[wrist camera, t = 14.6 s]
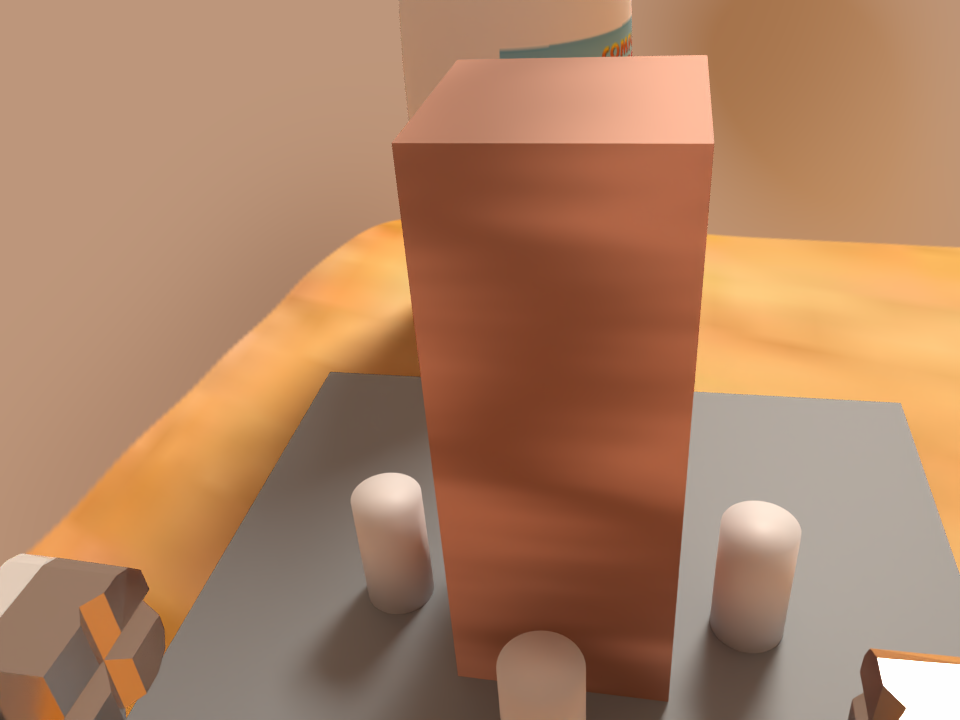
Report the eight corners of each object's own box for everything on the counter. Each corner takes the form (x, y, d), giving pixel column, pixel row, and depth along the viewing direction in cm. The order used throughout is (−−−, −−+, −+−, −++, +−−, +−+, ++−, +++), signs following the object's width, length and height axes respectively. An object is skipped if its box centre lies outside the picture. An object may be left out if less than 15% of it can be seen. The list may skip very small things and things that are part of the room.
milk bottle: (436, 368, 31) (355, -346, 20) (425, 270, 38) (359, -312, 27) (648, 344, 32) (681, -370, 21) (601, 252, 38) (607, -330, 27)
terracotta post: (671, 546, 22) (706, 54, 15) (668, 701, 18) (713, 143, 12) (494, 530, 23) (457, 59, 16) (458, 676, 19) (391, 143, 13)
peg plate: (894, 429, 27) (921, 316, 25) (1151, 1229, 12) (1276, 1125, 10) (334, 395, 30) (315, 294, 28) (6, 984, 16) (-89, 867, 13)
